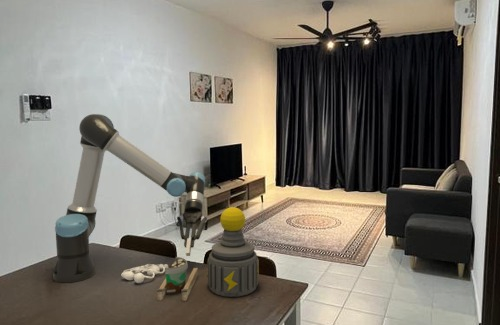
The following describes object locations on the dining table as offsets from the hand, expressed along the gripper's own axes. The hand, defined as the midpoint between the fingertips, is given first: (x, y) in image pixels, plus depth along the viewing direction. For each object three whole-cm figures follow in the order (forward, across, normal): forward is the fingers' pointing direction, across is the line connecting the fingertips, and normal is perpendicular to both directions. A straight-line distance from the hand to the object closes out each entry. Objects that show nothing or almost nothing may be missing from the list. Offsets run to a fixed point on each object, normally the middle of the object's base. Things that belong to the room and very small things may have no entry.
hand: (187, 254), depth 154 cm
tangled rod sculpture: (+7, +17, -5) cm, 19 cm away
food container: (+16, +1, +4) cm, 16 cm away
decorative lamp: (+14, -19, +2) cm, 24 cm away
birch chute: (+14, +1, +3) cm, 15 cm away
